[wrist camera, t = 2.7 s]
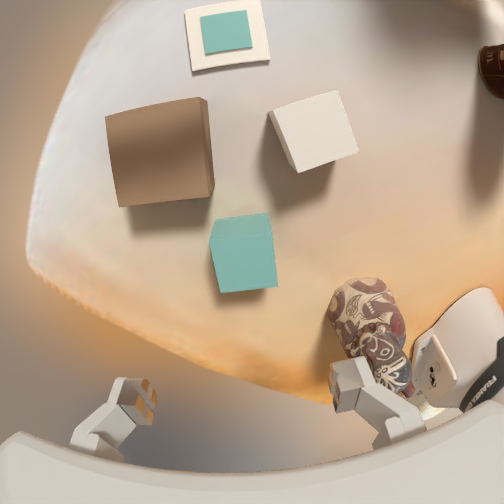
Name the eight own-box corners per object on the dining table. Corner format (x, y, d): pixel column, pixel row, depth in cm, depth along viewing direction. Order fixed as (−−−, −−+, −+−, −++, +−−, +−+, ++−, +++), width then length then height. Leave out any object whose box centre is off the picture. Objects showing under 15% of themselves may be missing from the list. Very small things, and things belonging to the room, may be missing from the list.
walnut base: (215, 184, 22) (208, 197, 19) (137, 193, 22) (119, 207, 19) (207, 101, 19) (199, 96, 16) (127, 116, 19) (105, 116, 16)
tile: (270, 60, 17) (270, 58, 17) (193, 71, 18) (191, 70, 17) (259, 0, 15) (259, -3, 14) (185, 11, 15) (183, 9, 14)
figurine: (368, 262, 26) (426, 347, 15) (397, 300, 28) (446, 378, 17) (314, 306, 28) (343, 402, 17) (349, 337, 30) (380, 421, 19)
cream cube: (338, 145, 21) (358, 152, 17) (288, 163, 21) (298, 173, 17) (319, 95, 19) (337, 89, 15) (267, 112, 20) (272, 109, 15)
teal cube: (273, 258, 25) (277, 286, 21) (224, 265, 26) (220, 292, 22) (267, 212, 23) (272, 233, 19) (215, 219, 24) (208, 241, 19)
